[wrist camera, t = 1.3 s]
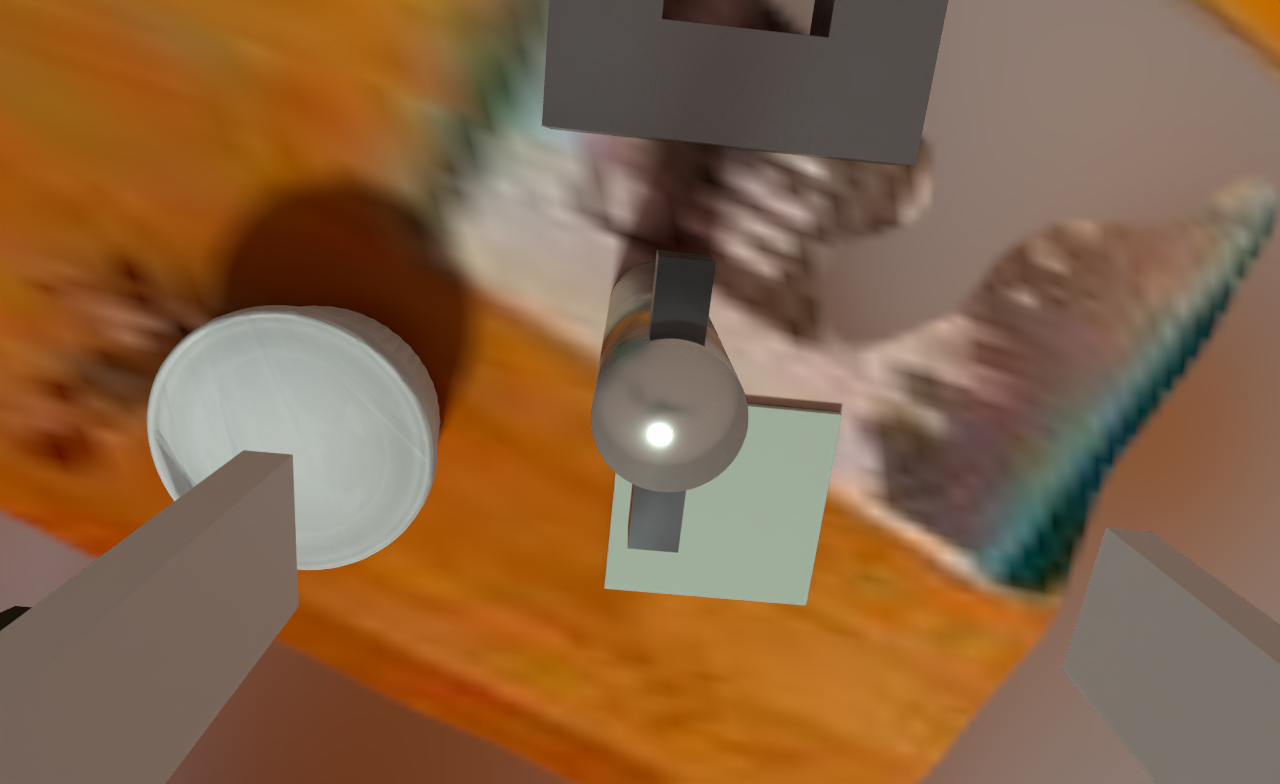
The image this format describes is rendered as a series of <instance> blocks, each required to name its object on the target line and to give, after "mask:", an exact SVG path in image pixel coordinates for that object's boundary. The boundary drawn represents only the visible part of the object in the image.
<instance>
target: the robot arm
mask: <svg viewBox="0 0 1280 784" xmlns="http://www.w3.org/2000/svg"><path fill="white" fill-rule="evenodd" d="M297 608H298V581H297V555H296V528H295V501H294V474H293V455H292V454H281V453H269V452H258V451H247V450H243V451H242V452H240V453H239V454H238V455H236V456H235V457H234V458H232V459H231V460H230V461H228V462H227V463H226V464H224V465H223V466H222V467H220V468H219V469H218V470H216V471H215V472H214V473H212V474H211V475H209V476H208V477H207V478H205V479H204V480H203V481H201V482H200V483H199V484H197V485H196V486H195V487H193V488H192V489H191V490H189V491H188V492H187V493H185V494H184V495H183V496H181V497H180V498H179V499H177V500H176V501H175V502H173V503H172V504H171V505H169V506H168V507H166V508H165V509H164V510H162V511H161V512H160V513H158V514H157V515H156V516H154V517H153V518H152V519H150V520H149V521H148V522H146V523H145V524H144V525H142V526H141V527H140V528H138V529H137V530H136V531H134V532H133V533H132V534H130V535H129V536H127V537H126V538H125V539H123V540H122V541H121V542H119V543H118V544H117V545H115V546H114V547H113V548H111V549H110V550H109V551H107V552H106V553H105V554H103V555H102V556H101V557H99V558H98V559H97V560H95V561H94V562H93V563H91V564H90V565H89V566H87V567H86V568H84V569H83V570H82V571H80V572H79V573H78V574H76V575H75V576H74V577H73V578H71V579H70V580H68V581H67V582H66V583H64V584H63V585H62V586H60V587H59V588H58V589H56V590H55V591H54V592H52V593H51V594H50V595H48V596H47V597H46V598H44V599H43V600H42V601H40V602H39V603H37V604H36V605H35V606H34V607H20V606H14V607H12V608H10V609H8V610H6V611H3V612H1V613H0V784H165V783H166V782H167V781H168V779H169V778H170V776H171V775H172V774H173V773H174V771H175V770H176V769H177V767H178V766H179V765H180V763H181V762H182V761H183V759H184V758H185V757H186V755H187V754H188V753H189V751H190V750H191V749H192V747H193V746H194V744H195V743H196V742H197V741H198V739H199V738H200V737H201V735H202V734H203V733H204V731H205V730H206V729H207V727H208V726H209V725H210V724H211V722H212V721H213V719H214V718H215V717H216V716H217V714H218V713H219V712H220V710H221V709H222V707H223V706H224V705H225V703H226V702H227V701H228V700H229V698H230V697H231V696H232V694H233V693H234V691H235V690H236V689H237V688H238V686H239V685H240V684H241V682H242V681H243V680H244V678H245V677H246V676H247V674H248V673H249V672H250V670H251V669H252V668H253V666H254V665H255V664H256V662H257V661H258V660H259V658H260V657H261V656H262V654H263V653H264V652H265V651H266V649H267V648H268V647H269V645H270V644H271V643H272V641H273V640H274V639H275V637H276V636H277V635H278V633H279V632H280V631H281V629H282V628H283V627H284V625H285V624H286V623H287V621H288V620H289V619H290V617H291V616H292V615H293V613H294V612H295V611H296V609H297ZM1062 671H1063V672H1064V673H1065V674H1066V676H1067V677H1068V678H1069V679H1070V680H1071V682H1072V683H1073V684H1074V685H1075V686H1076V688H1077V689H1078V690H1079V691H1080V692H1081V694H1082V695H1083V696H1084V697H1085V698H1086V700H1087V701H1088V702H1089V703H1090V704H1091V706H1092V707H1093V708H1094V709H1095V711H1096V712H1097V713H1098V714H1099V715H1100V717H1101V718H1102V719H1103V720H1104V721H1105V723H1106V724H1107V725H1108V726H1109V727H1110V729H1111V730H1112V731H1113V732H1114V733H1115V735H1116V736H1117V737H1118V738H1119V739H1120V741H1121V742H1122V743H1123V744H1124V745H1125V747H1126V748H1127V749H1128V750H1129V752H1130V753H1131V754H1132V755H1133V756H1134V757H1135V759H1136V760H1137V761H1138V762H1139V764H1140V765H1141V766H1142V767H1143V768H1144V770H1145V771H1146V772H1147V773H1148V774H1149V776H1150V777H1151V778H1152V779H1153V780H1154V782H1155V783H1156V784H1280V624H1279V623H1277V622H1276V621H1274V620H1273V619H1272V618H1270V617H1269V616H1268V615H1266V614H1265V613H1263V612H1262V611H1261V610H1259V609H1258V608H1256V607H1255V606H1254V605H1252V604H1251V603H1250V602H1248V601H1247V600H1246V599H1244V598H1243V597H1241V596H1240V595H1238V594H1237V593H1236V592H1235V591H1233V590H1232V589H1230V588H1229V587H1227V586H1226V585H1225V584H1223V583H1222V582H1221V581H1219V580H1218V579H1217V578H1215V577H1214V576H1213V575H1211V574H1210V573H1208V572H1207V571H1206V570H1204V569H1203V568H1201V567H1200V566H1199V565H1197V564H1196V563H1194V562H1193V561H1192V560H1191V559H1189V558H1188V557H1186V556H1185V555H1184V554H1182V553H1181V552H1180V551H1178V550H1177V549H1175V548H1174V547H1173V546H1171V545H1170V544H1168V543H1167V542H1166V541H1164V540H1163V539H1161V538H1160V537H1159V536H1157V535H1156V534H1155V533H1153V532H1152V531H1141V530H1131V529H1120V528H1109V527H1106V529H1105V532H1104V535H1103V539H1102V542H1101V545H1100V548H1099V552H1098V555H1097V558H1096V562H1095V565H1094V568H1093V571H1092V575H1091V578H1090V581H1089V584H1088V588H1087V591H1086V594H1085V597H1084V600H1083V604H1082V607H1081V611H1080V613H1079V617H1078V620H1077V623H1076V626H1075V630H1074V633H1073V636H1072V640H1071V643H1070V646H1069V649H1068V652H1067V656H1066V659H1065V662H1064V666H1063V669H1062Z"/></svg>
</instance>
